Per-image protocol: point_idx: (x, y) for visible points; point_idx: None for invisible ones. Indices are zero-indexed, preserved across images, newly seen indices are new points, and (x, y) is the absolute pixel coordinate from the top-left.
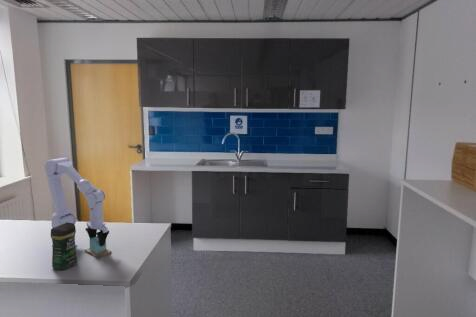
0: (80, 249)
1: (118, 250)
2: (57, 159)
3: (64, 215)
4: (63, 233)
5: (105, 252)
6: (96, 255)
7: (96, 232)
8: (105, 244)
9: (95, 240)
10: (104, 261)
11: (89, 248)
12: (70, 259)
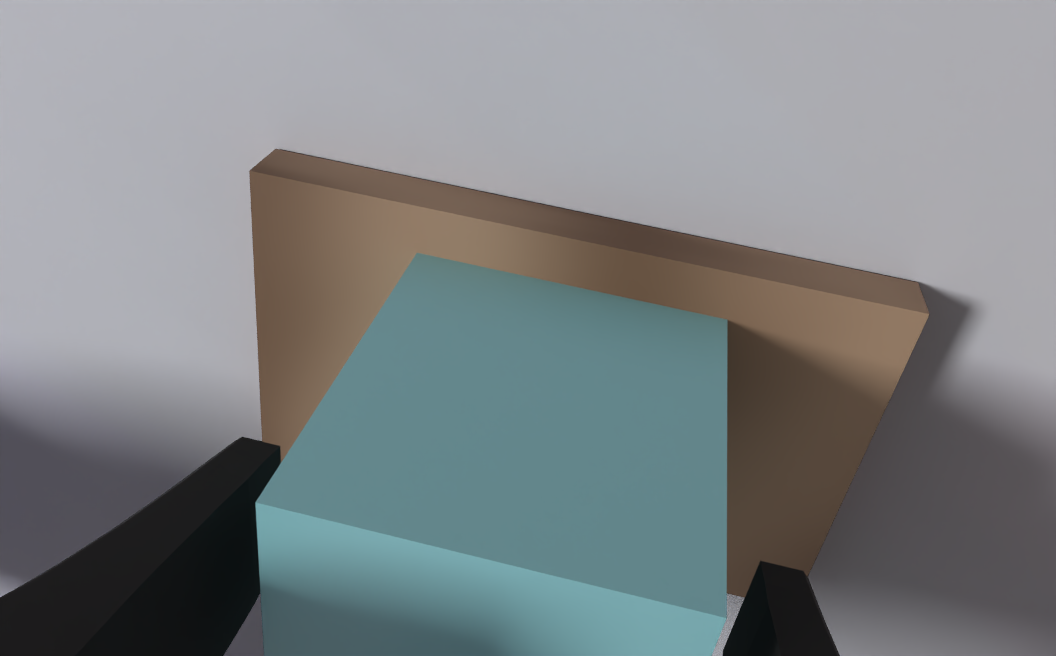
0: (102, 400)
1: (1026, 57)
2: None
3: None
4: None
5: (827, 435)
6: (740, 596)
7: (86, 639)
8: (719, 445)
9: None
10: (1052, 632)
11: (275, 404)
12: None
